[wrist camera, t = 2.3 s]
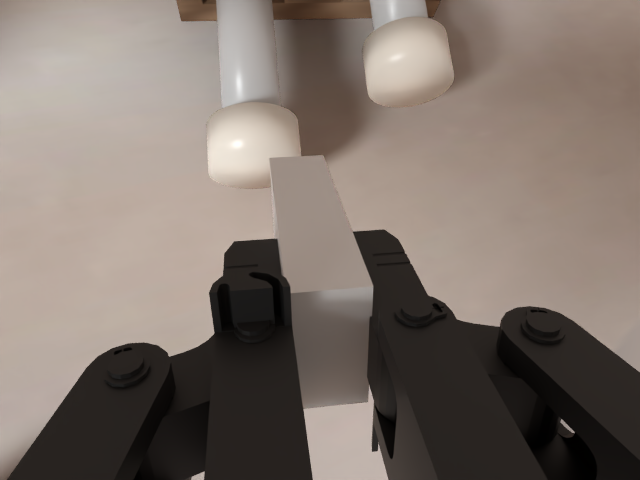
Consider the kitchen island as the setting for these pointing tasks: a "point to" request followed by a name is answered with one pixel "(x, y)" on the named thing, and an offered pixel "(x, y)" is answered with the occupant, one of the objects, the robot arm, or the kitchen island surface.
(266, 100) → the knob
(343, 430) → the kitchen island surface
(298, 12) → the mount
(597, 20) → the kitchen island surface
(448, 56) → the knob
